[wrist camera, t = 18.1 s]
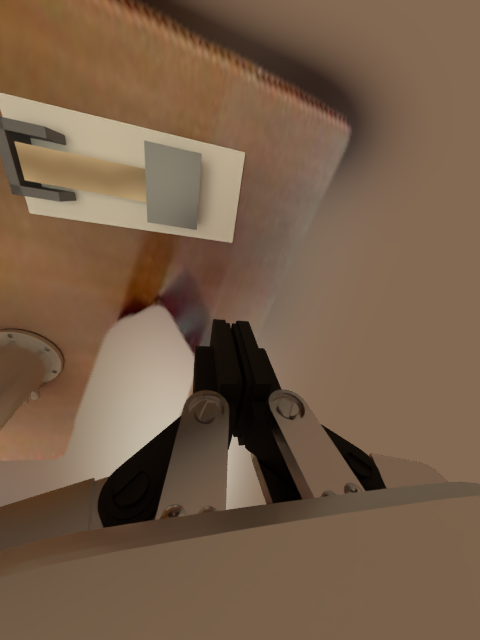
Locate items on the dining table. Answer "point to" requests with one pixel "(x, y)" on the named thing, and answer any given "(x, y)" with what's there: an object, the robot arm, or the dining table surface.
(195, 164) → the cap
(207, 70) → the dining table surface
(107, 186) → the slat
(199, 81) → the dining table surface
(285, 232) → the dining table surface
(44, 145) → the base
